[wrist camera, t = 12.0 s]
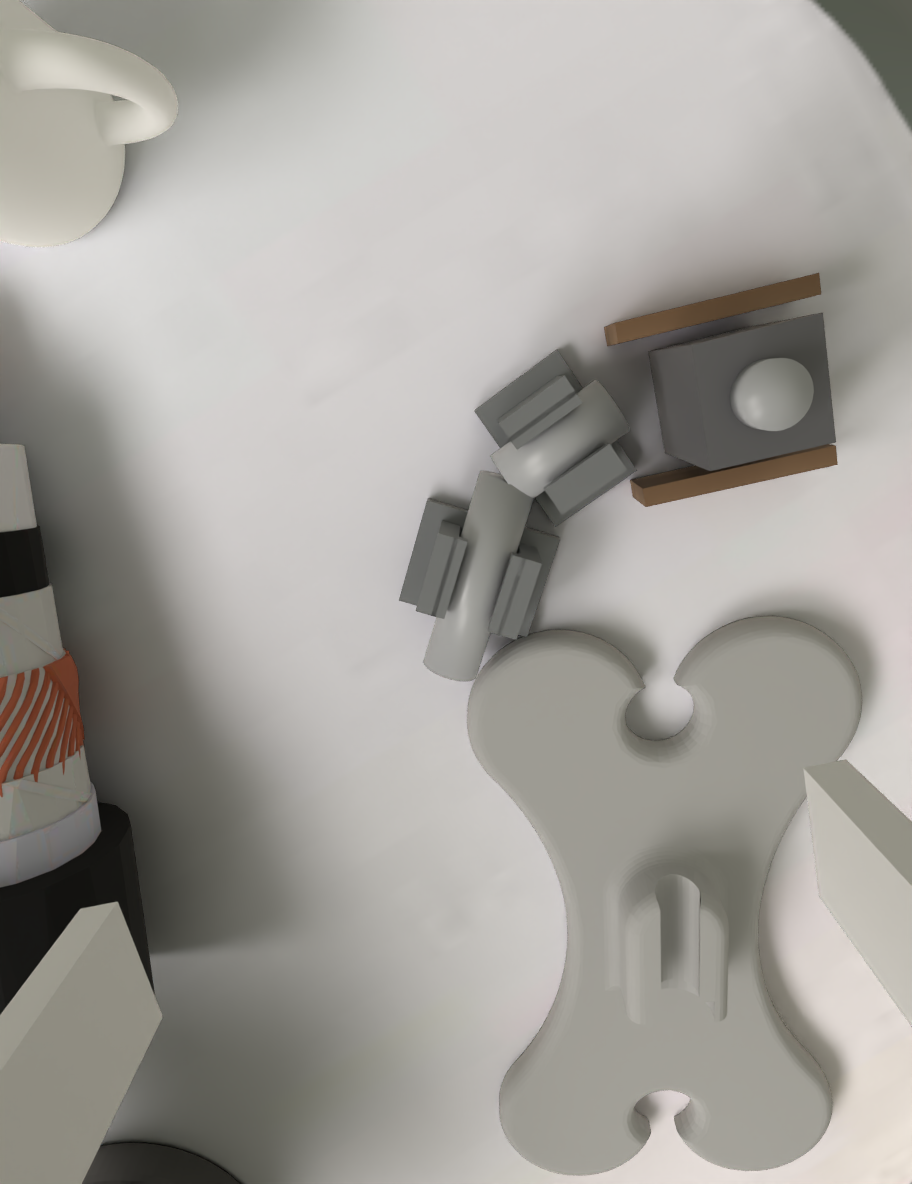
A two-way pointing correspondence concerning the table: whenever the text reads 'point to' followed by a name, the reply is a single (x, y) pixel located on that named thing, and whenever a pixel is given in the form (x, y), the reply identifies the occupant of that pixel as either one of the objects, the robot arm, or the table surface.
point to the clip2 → (557, 438)
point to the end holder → (705, 481)
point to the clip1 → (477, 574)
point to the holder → (663, 887)
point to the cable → (47, 764)
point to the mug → (68, 126)
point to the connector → (745, 393)
